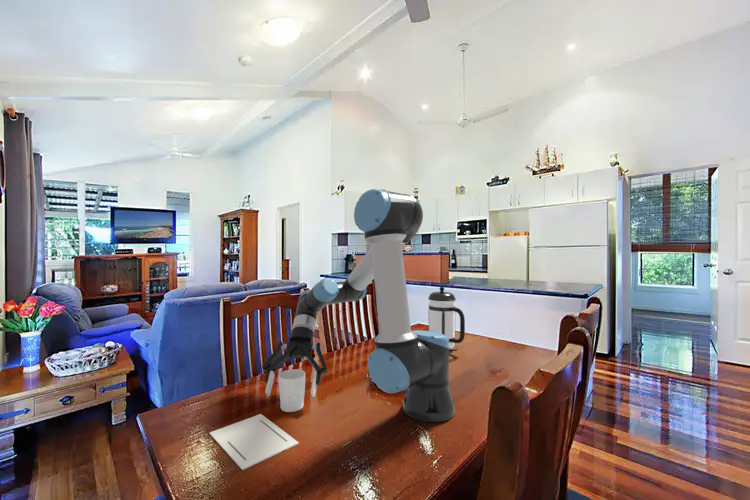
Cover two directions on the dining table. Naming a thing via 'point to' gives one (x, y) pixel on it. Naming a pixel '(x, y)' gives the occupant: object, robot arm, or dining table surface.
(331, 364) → the dining table surface
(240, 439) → the paper sheet
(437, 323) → the coffee press
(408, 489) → the dining table surface
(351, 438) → the dining table surface
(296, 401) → the white cup
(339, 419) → the dining table surface
